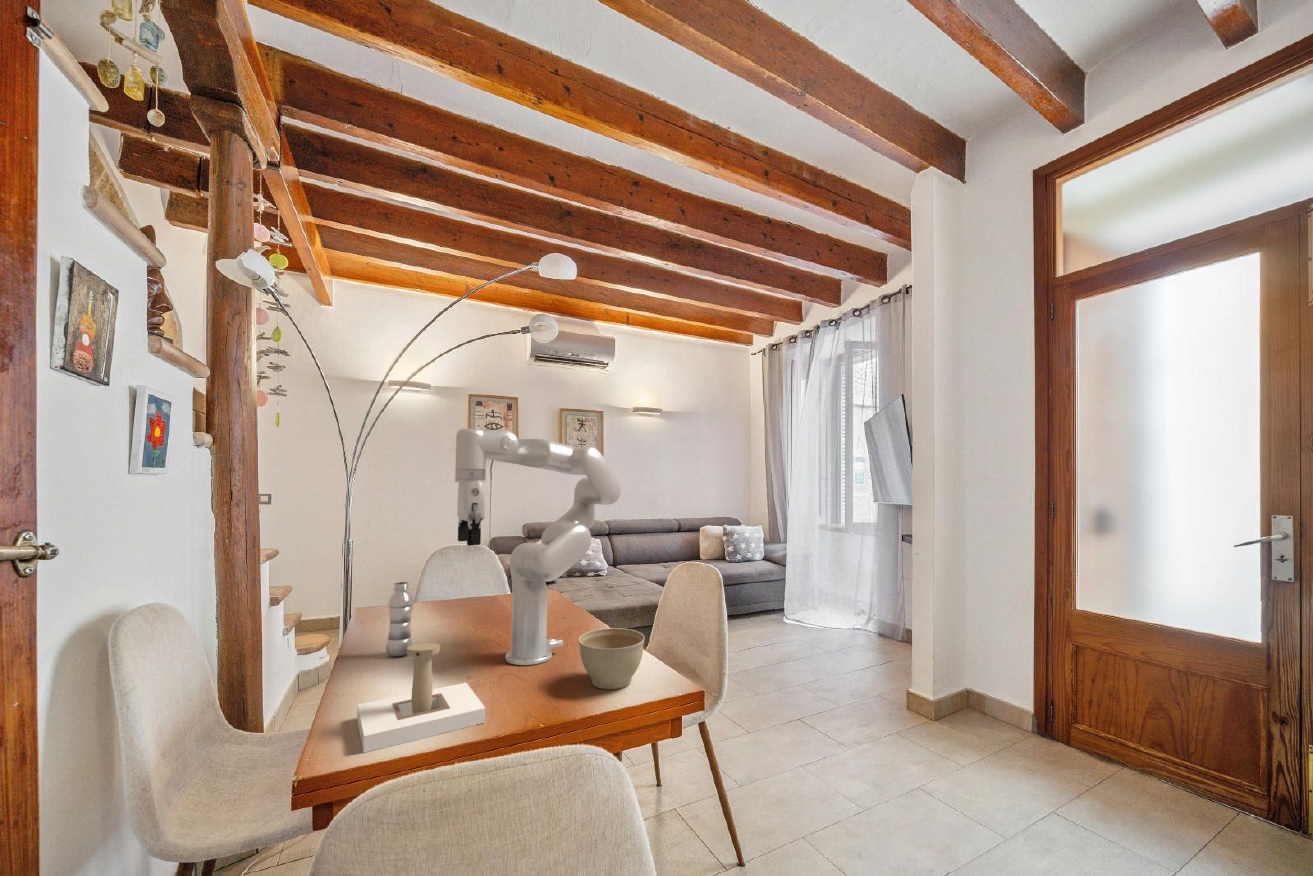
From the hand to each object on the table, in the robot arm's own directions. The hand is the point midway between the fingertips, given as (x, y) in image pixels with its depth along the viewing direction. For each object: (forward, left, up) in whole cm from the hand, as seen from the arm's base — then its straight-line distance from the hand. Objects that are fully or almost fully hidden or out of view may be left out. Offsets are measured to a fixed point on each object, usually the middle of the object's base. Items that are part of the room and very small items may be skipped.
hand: (468, 542), depth 138 cm
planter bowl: (-29, +24, -34) cm, 50 cm away
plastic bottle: (+12, -26, -34) cm, 44 cm away
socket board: (+14, +21, -33) cm, 42 cm away
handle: (+14, +21, -34) cm, 42 cm away
